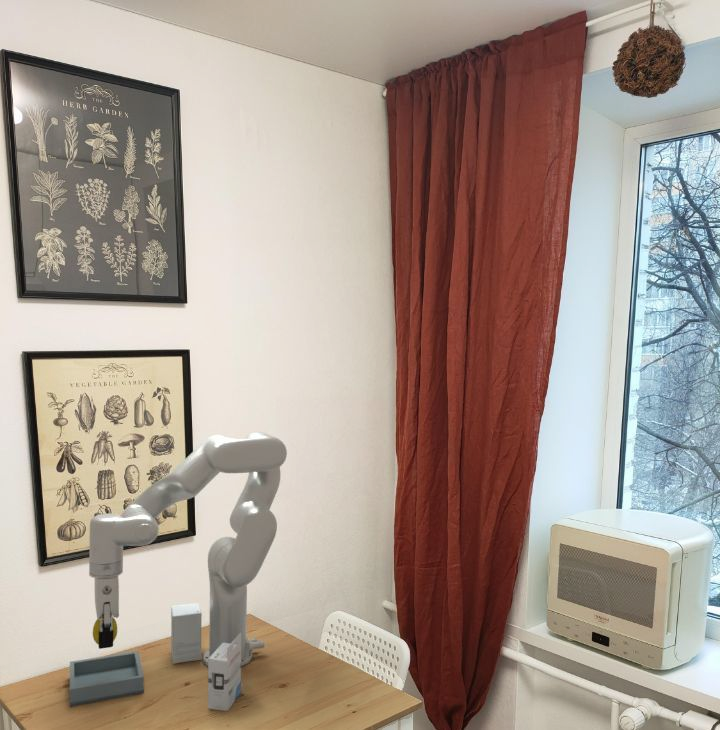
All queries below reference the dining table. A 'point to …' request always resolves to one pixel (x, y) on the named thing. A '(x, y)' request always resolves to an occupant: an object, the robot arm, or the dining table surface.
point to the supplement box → (186, 632)
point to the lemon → (97, 627)
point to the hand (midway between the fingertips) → (105, 640)
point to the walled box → (105, 678)
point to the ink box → (224, 675)
